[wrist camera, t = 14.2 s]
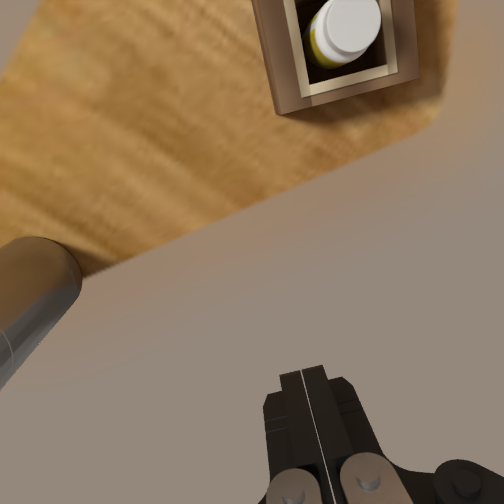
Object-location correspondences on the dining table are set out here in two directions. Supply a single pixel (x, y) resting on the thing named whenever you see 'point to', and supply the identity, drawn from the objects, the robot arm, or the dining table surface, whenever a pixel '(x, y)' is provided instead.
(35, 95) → the dining table surface
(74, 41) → the dining table surface
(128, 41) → the dining table surface
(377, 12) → the supplement bottle
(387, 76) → the socket block
